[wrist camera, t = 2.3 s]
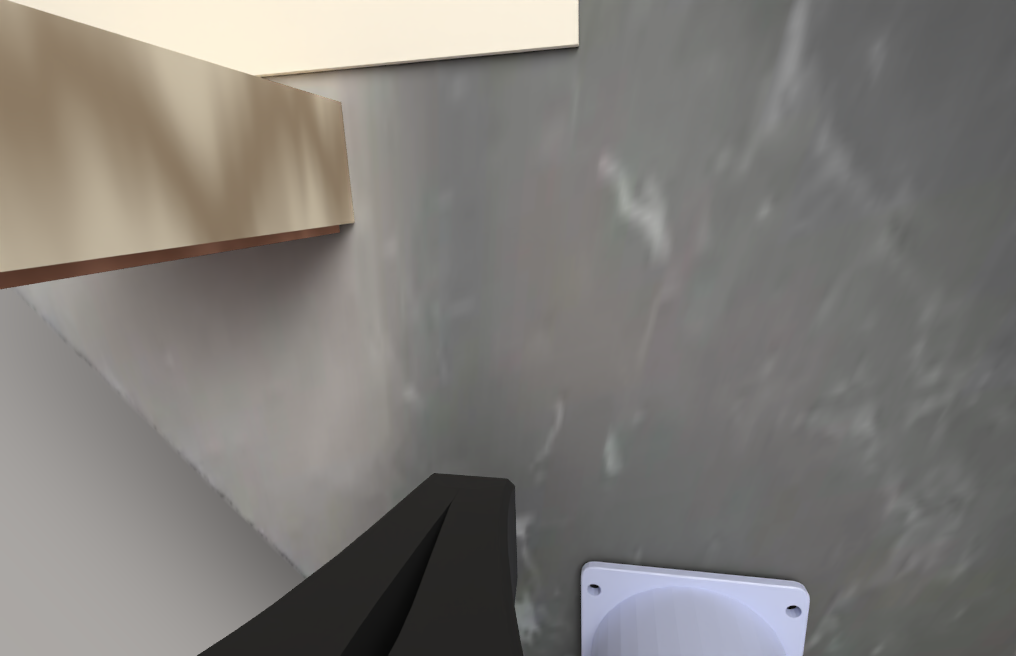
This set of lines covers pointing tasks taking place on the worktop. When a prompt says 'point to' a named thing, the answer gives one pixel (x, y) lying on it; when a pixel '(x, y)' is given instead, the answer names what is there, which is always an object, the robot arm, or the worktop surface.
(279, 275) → the worktop surface
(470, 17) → the mat
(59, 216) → the marked block
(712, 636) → the robot arm
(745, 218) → the worktop surface
